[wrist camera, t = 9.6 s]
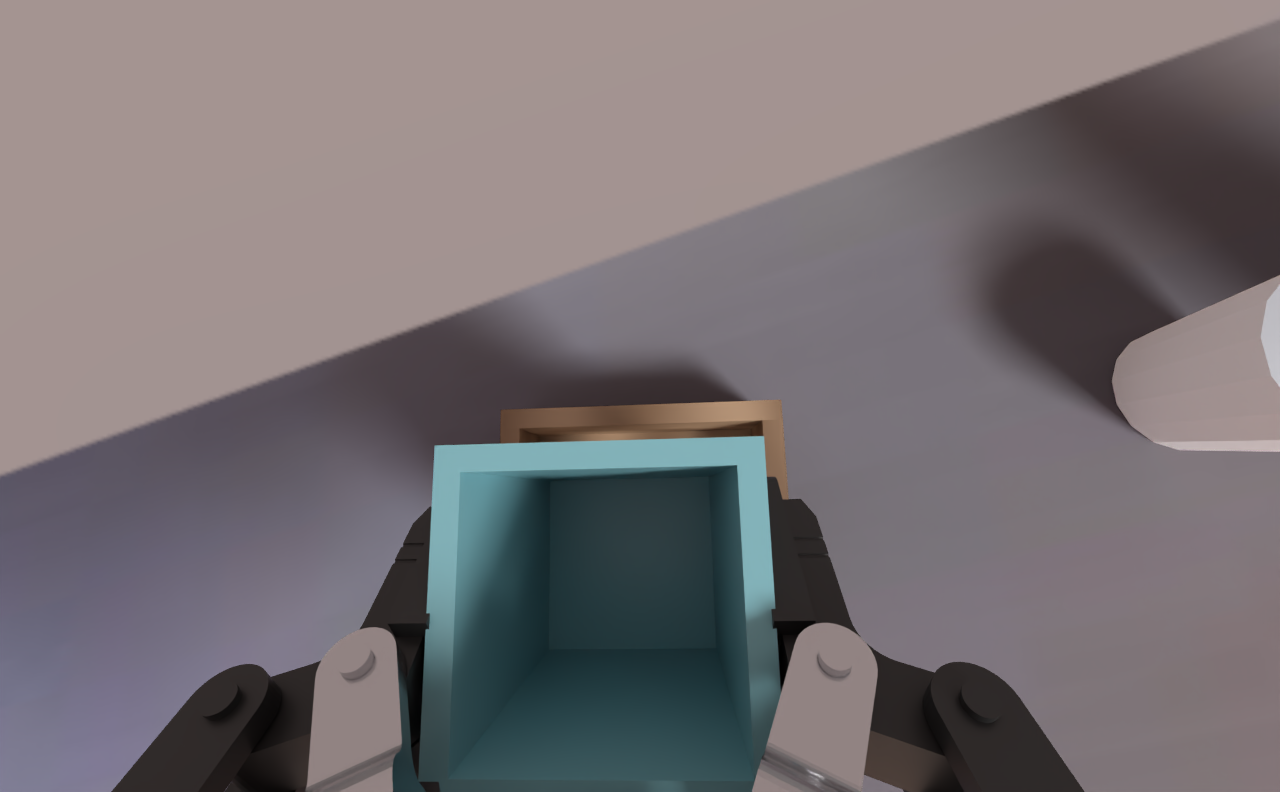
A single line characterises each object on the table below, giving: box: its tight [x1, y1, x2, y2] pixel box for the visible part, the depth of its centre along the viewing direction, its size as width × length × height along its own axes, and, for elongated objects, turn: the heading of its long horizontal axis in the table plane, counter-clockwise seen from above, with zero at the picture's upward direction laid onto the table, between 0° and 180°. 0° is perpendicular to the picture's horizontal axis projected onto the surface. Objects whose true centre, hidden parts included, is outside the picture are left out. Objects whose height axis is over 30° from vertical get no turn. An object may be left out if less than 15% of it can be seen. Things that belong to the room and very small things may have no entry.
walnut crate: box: [500, 400, 788, 499], centre depth 22 cm, size 12×11×4 cm
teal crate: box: [418, 436, 781, 792], centre depth 13 cm, size 6×6×8 cm
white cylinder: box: [1112, 275, 1280, 452], centre depth 20 cm, size 7×7×7 cm
